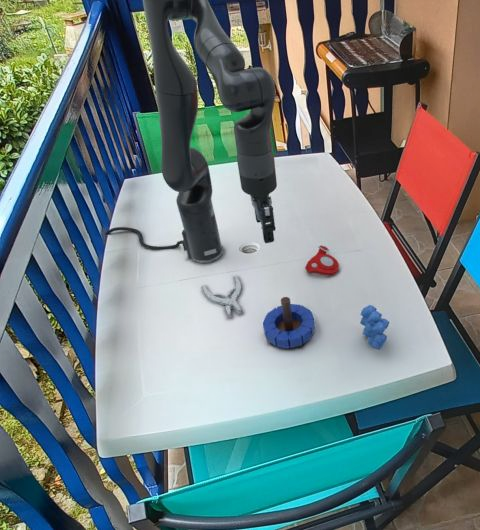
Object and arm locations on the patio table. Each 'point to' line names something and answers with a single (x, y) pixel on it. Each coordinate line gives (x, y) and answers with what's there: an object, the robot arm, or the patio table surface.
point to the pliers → (229, 302)
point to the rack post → (288, 318)
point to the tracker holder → (322, 263)
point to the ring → (291, 337)
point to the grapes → (374, 326)
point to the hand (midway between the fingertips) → (265, 231)
